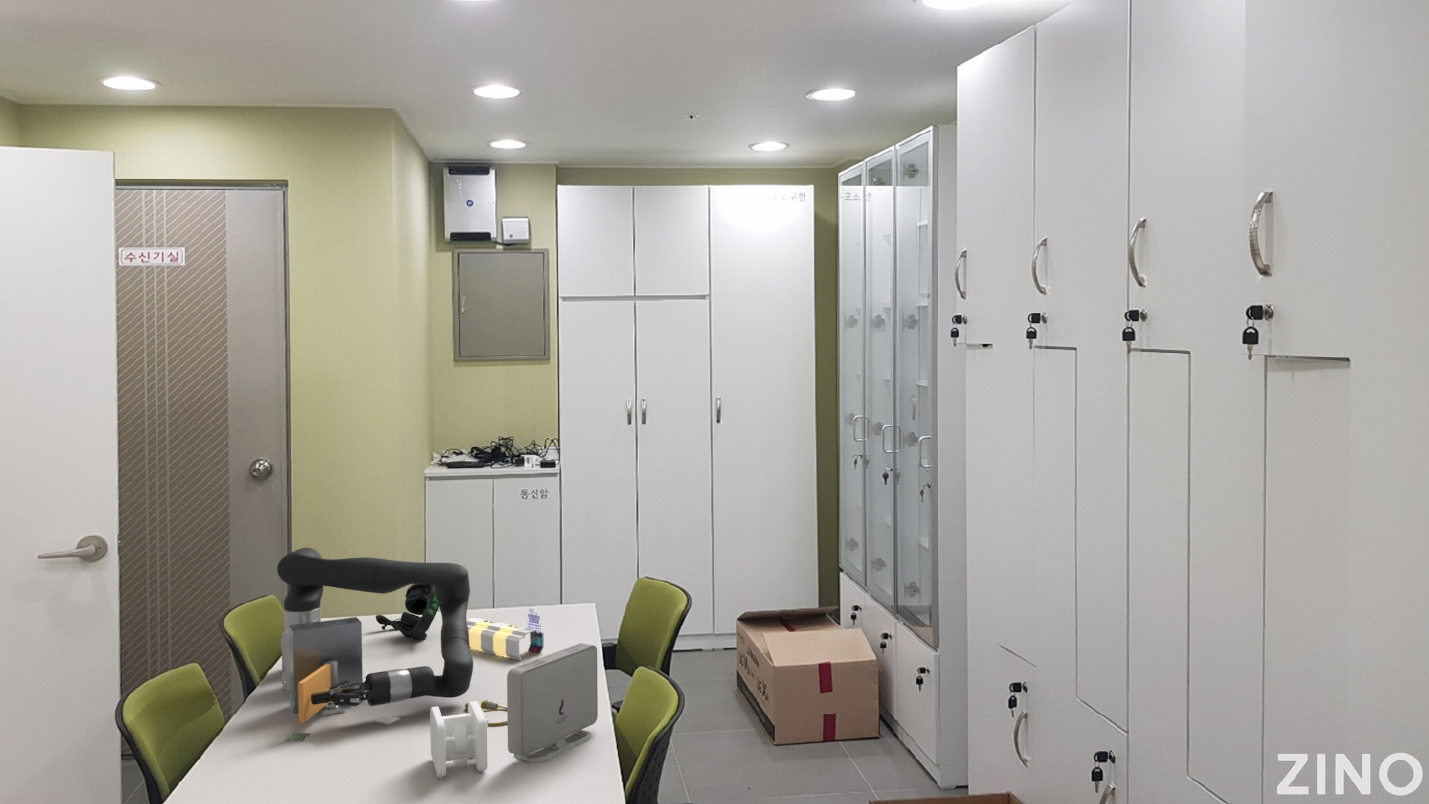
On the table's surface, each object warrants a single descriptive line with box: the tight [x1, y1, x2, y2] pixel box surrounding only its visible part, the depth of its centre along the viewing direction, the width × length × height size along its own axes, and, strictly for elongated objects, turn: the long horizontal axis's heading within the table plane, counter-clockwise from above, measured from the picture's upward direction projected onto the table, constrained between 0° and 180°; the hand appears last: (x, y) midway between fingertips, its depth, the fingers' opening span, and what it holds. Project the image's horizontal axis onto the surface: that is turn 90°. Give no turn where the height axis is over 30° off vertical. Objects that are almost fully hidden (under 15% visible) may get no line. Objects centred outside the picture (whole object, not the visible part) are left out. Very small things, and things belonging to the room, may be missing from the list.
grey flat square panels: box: [284, 616, 402, 742], centre depth 247 cm, size 26×26×20 cm
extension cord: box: [464, 699, 508, 727], centre depth 248 cm, size 12×16×2 cm
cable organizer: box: [429, 700, 489, 779], centre depth 217 cm, size 15×11×12 cm
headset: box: [375, 584, 440, 640], centre depth 317 cm, size 18×14×29 cm
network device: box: [506, 642, 599, 763], centre depth 228 cm, size 26×9×20 cm, turn 148°
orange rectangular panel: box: [298, 660, 338, 723], centre depth 243 cm, size 18×3×10 cm, turn 177°
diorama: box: [466, 608, 545, 661], centre depth 302 cm, size 25×10×13 cm, turn 56°
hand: (311, 699), depth 237 cm, fingers closed
